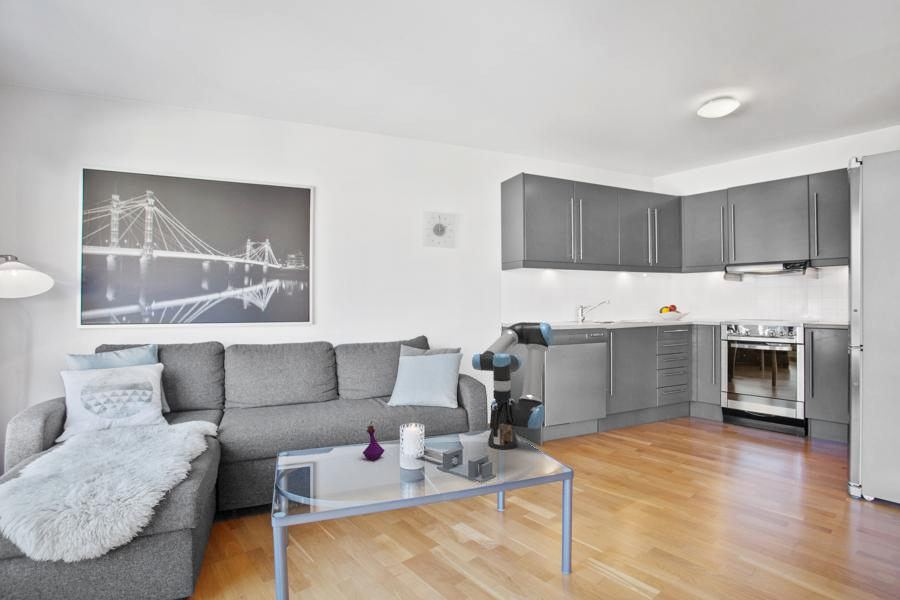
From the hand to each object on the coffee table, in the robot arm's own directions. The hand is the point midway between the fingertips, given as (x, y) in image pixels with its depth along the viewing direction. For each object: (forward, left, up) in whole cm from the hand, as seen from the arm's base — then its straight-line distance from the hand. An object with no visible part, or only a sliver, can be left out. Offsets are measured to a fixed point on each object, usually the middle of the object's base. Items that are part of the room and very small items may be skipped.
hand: (502, 441), depth 205 cm
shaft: (+13, -27, -11) cm, 32 cm away
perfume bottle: (+28, -54, -12) cm, 62 cm away
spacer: (0, 0, 0) cm, 0 cm away
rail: (+13, -10, -12) cm, 21 cm away
